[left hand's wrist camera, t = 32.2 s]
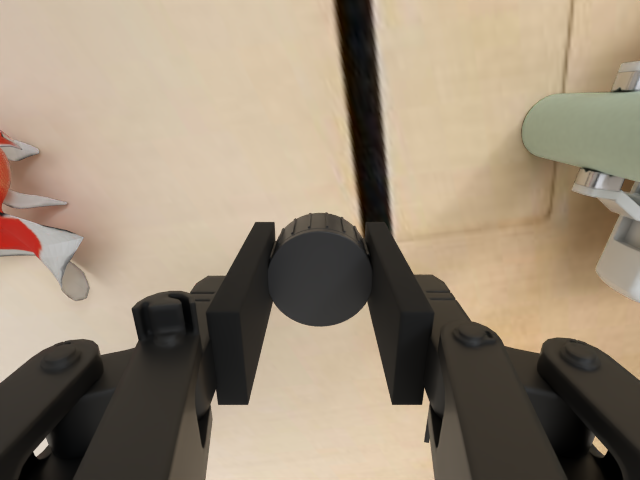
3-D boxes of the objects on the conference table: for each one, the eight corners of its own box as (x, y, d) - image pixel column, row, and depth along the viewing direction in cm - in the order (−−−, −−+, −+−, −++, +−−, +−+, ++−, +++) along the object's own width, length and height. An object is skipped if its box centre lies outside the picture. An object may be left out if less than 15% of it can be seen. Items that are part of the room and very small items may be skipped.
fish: (55, 74, 20) (-143, 177, 14) (163, 251, 32) (81, 352, 25) (-66, 65, 23) (-276, 147, 17) (73, 230, 35) (-21, 316, 28)
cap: (367, 296, 15) (374, 326, 13) (276, 299, 15) (269, 329, 13) (368, 209, 14) (376, 228, 12) (268, 213, 14) (259, 232, 12)
